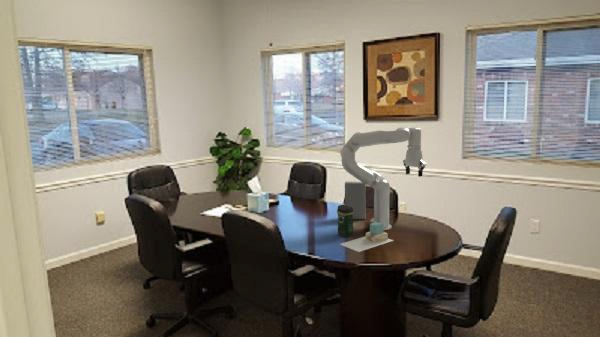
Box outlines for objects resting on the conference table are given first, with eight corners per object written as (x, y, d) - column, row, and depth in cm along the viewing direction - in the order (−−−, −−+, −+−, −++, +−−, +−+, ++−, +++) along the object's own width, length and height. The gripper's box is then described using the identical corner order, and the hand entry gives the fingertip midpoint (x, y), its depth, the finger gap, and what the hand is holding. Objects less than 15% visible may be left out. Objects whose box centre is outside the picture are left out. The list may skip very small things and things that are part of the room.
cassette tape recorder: (365, 217, 311) (365, 181, 306) (365, 219, 305) (365, 183, 300) (345, 216, 313) (345, 181, 309) (344, 219, 307) (344, 183, 303)
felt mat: (339, 244, 259) (339, 244, 259) (373, 234, 275) (373, 233, 275) (358, 252, 246) (358, 251, 246) (393, 241, 262) (393, 240, 262)
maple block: (365, 239, 265) (365, 232, 265) (376, 236, 271) (376, 229, 270) (376, 243, 258) (376, 236, 257) (387, 239, 263) (387, 233, 263)
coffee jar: (355, 235, 273) (355, 206, 270) (346, 238, 269) (345, 208, 265) (345, 231, 281) (344, 202, 277) (335, 234, 276) (334, 205, 273)
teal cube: (369, 232, 264) (369, 223, 263) (376, 230, 267) (376, 221, 266) (376, 235, 260) (376, 226, 259) (383, 233, 263) (383, 224, 262)
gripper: (399, 147, 283) (399, 174, 286) (421, 149, 269) (421, 178, 272) (407, 146, 287) (407, 172, 290) (429, 148, 273) (429, 176, 276)
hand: (413, 175), depth 281 cm, fingers open, 9 cm apart
